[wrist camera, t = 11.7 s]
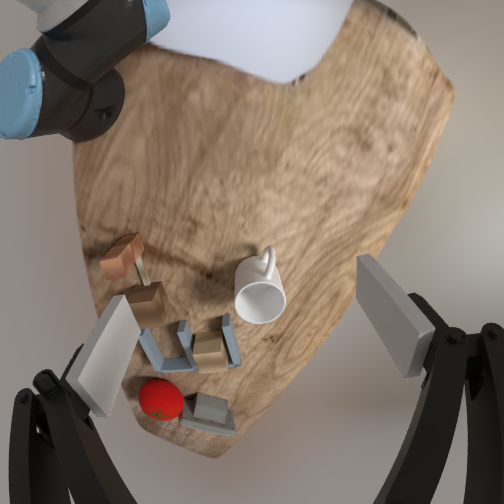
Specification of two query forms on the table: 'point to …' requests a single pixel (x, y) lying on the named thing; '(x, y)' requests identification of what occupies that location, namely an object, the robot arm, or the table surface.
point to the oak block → (211, 352)
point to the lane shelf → (187, 348)
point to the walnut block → (142, 296)
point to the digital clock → (208, 415)
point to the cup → (259, 289)
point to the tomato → (161, 399)
